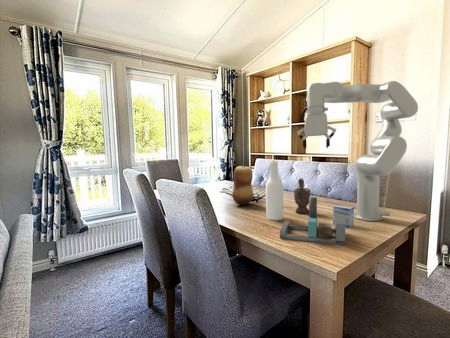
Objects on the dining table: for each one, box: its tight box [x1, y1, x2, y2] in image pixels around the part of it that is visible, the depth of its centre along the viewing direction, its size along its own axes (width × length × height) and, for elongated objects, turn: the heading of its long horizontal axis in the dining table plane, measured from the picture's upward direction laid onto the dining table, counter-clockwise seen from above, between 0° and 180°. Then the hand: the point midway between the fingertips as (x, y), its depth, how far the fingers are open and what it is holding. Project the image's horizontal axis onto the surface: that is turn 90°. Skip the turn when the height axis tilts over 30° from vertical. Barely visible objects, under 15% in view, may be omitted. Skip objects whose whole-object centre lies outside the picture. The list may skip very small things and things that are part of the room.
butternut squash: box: [231, 165, 254, 206], centre depth 159 cm, size 14×13×25 cm
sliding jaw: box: [307, 196, 318, 238], centre depth 102 cm, size 3×14×14 cm, turn 158°
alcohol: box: [265, 159, 285, 221], centre depth 127 cm, size 9×9×30 cm
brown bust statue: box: [293, 178, 311, 215], centre depth 135 cm, size 12×9×20 cm
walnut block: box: [317, 222, 333, 239], centre depth 101 cm, size 5×5×5 cm
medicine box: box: [332, 204, 355, 228], centre depth 115 cm, size 8×4×9 cm, turn 45°
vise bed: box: [279, 214, 346, 246], centre depth 103 cm, size 24×14×8 cm, turn 68°
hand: (316, 148), depth 116 cm, fingers open, 9 cm apart
